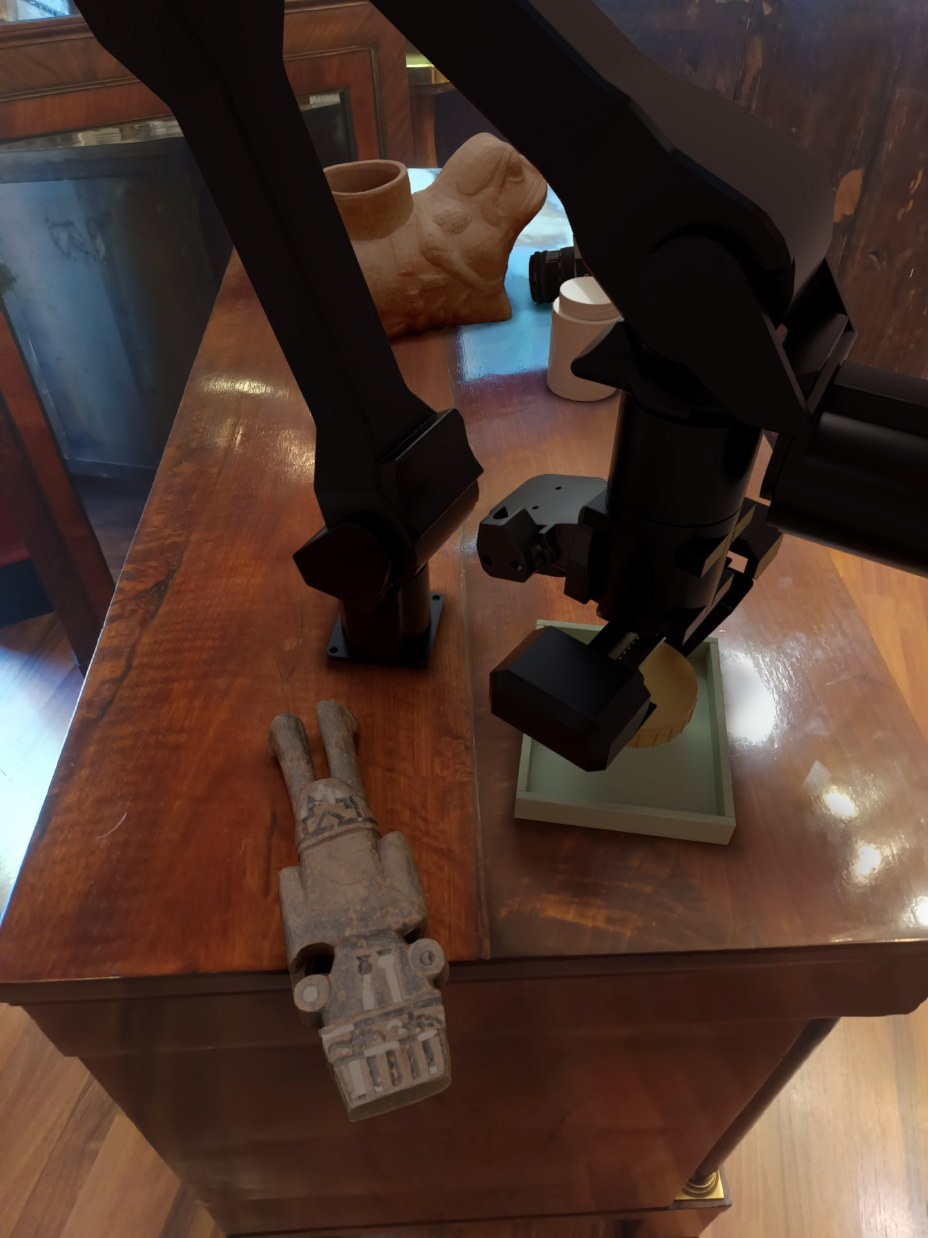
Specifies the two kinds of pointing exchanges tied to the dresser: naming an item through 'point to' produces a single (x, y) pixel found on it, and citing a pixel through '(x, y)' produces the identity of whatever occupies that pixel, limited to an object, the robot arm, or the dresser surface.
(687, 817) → the tray
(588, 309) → the jar
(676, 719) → the lid
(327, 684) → the dresser surface
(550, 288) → the camera
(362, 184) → the ceramic vessel
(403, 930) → the figurine
